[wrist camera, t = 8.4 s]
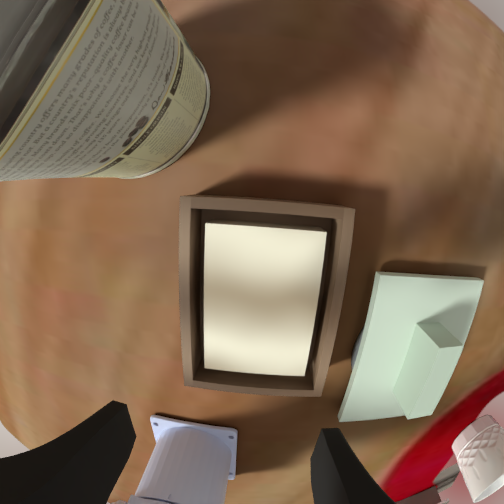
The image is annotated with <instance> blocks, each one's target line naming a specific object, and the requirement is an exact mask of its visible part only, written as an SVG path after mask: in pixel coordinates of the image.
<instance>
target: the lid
mask: <svg viewBox="0 0 504 504" xmlns="http://www.w3.org/2000/svg"><path fill="white" fill-rule="evenodd" d="M483 282H484V281H483V280H482V279H480V278H476V277H458V276H441V275H425V274H409V273H393V272H378V271H376V274H375V279H374V285H373V290H372V295H371V300H370V304H369V309H368V313H367V318H366V322H365V326H364V330H363V334H362V339H361V343H360V346H359V350H358V354H357V357H356V361H355V364H354V368H353V371H352V374H351V377H350V380H349V384H348V387H347V390H346V393H345V396H344V399H343V402H342V405H341V407H340V410H339V413H338V419H339V422H348V421H362V420H373V419H382V418H390V417H397V416H404V415H405V416H406V418H407V419H413V418H418V417H423V416H428V415H432V413H433V411H434V409H435V408H436V406H437V404H438V402H439V400H440V398H441V396H442V394H443V392H444V390H445V388H446V386H447V384H448V382H449V380H450V378H451V376H452V373H453V371H454V369H455V367H456V364H457V362H458V359H459V357H460V355H461V352H462V350H463V347H464V343H465V341H466V338H467V335H468V333H469V330H470V327H471V324H472V321H473V318H474V314H475V311H476V308H477V304H478V301H479V297H480V294H481V290H482V286H483Z"/></svg>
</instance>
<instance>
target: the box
mask: <svg viewBox="0 0 504 504" xmlns="http://www.w3.org/2000/svg"><path fill="white" fill-rule="evenodd" d="M354 218H355V209H354V208H350V207H346V206H342V205H334V204H324V203H314V202H304V201H292V200H280V199H267V198H252V197H235V196H216V195H187V196H180V212H179V302H180V328H181V346H182V361H183V374H184V386H190V387H196V388H203V389H210V390H218V391H226V392H235V393H246V394H258V395H273V396H297V397H321V395H322V391H323V387H324V384H325V380H326V376H327V372H328V368H329V364H330V360H331V355H332V351H333V347H334V342H335V338H336V333H337V328H338V323H339V318H340V313H341V308H342V302H343V297H344V291H345V285H346V279H347V272H348V266H349V259H350V252H351V244H352V236H353V227H354Z"/></svg>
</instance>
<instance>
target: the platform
mask: <svg viewBox="0 0 504 504" xmlns="http://www.w3.org/2000/svg"><path fill="white" fill-rule="evenodd" d="M459 472H460V467H459V466H458V463H456V464H454V465H452V466H451V467H448V468H447V469H445V470H443V471H441V472H440V473H439V474H438V475H437V477H436V478H435V480H434V481H433V484H435V485H437V486H438V487H437V489H436V487H435V486H434V487H432V488H430V489H427V490H425V491H423V492H421V493H418V494H416V495H413V496H411V497H409V498H406V499H403V500H401V501H398V502H395V503H396V504H447V503H448V502H449V499H446V500H444V501H441V499H440V496H439V494H438V493H440V492H442V491H443V490H446V489H447V488H449V487H451V486H452V485H453V483H454V481H455V479H456V478H457V476H458V474H459Z"/></svg>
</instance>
